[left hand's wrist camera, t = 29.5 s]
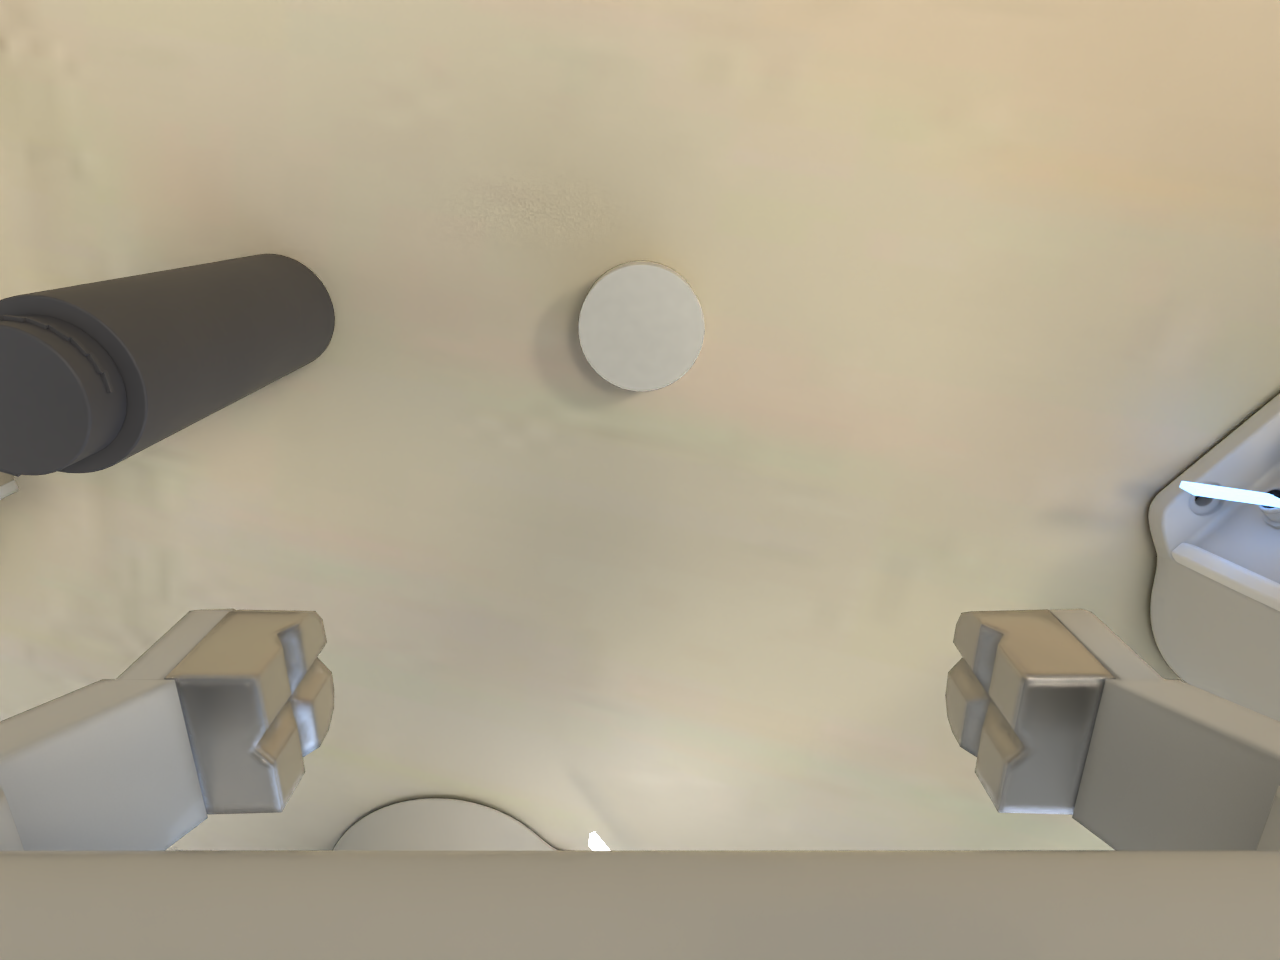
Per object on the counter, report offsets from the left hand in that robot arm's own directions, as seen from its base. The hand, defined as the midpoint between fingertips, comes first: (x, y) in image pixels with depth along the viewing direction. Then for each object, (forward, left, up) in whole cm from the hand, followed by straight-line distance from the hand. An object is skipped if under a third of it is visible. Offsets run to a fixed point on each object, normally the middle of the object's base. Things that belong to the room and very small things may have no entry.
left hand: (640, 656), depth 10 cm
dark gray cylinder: (+8, -14, -28) cm, 32 cm away
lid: (0, 0, -26) cm, 26 cm away
